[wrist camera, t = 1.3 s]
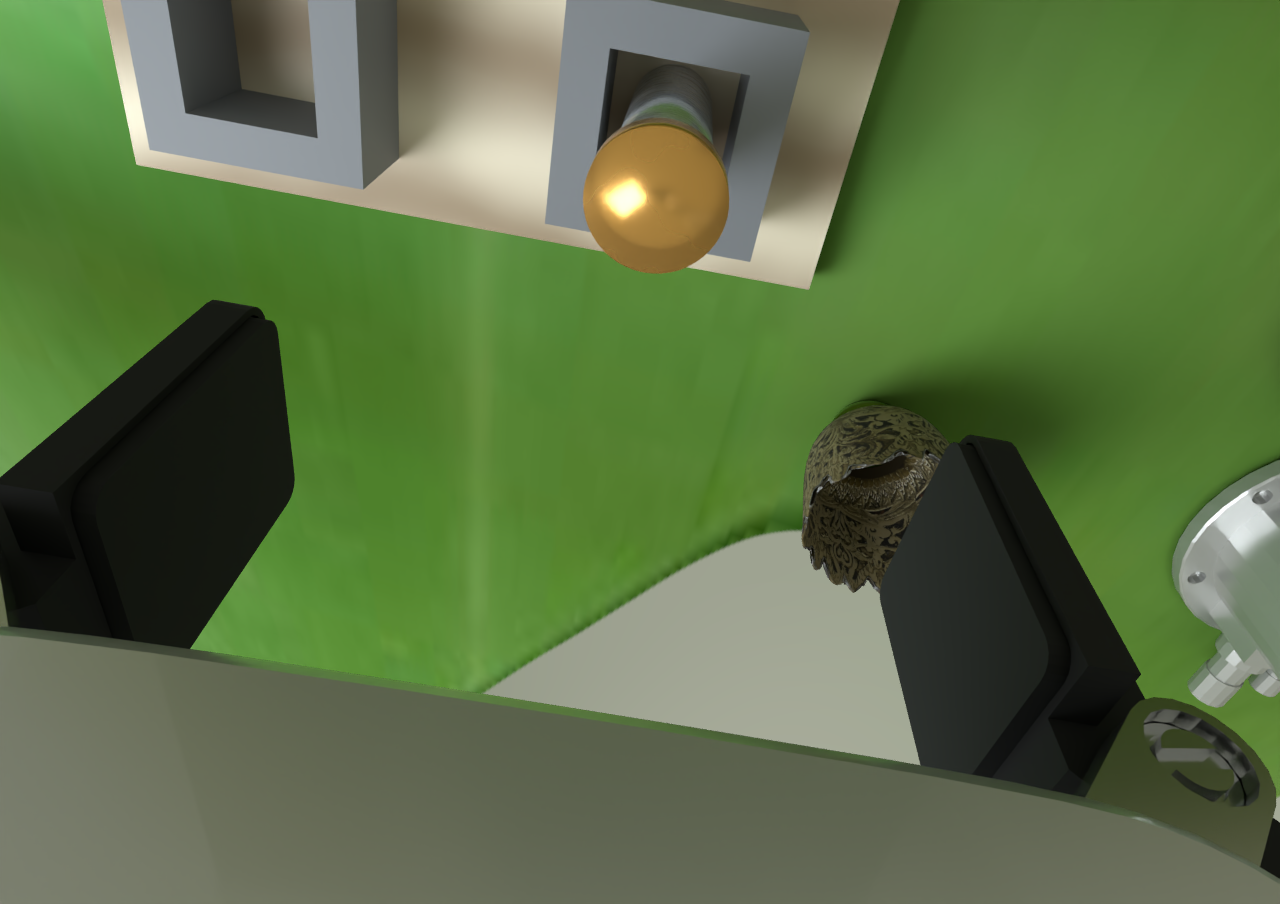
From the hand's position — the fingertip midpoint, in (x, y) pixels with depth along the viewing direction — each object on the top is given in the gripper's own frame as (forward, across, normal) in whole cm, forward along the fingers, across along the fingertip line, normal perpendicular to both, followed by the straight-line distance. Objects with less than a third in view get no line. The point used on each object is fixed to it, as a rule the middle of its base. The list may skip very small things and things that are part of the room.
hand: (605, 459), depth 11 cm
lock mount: (+22, 0, 0) cm, 22 cm away
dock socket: (+22, +14, 0) cm, 26 cm away
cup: (+24, -12, +13) cm, 30 cm away
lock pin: (+22, 0, 0) cm, 22 cm away
